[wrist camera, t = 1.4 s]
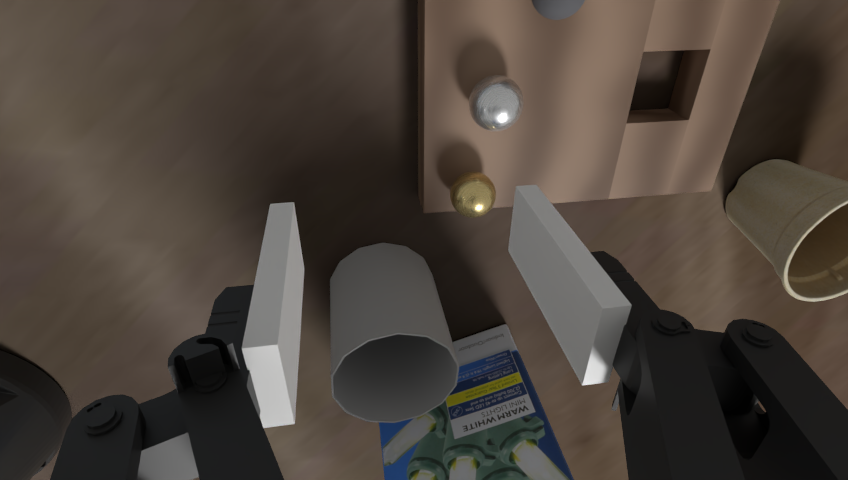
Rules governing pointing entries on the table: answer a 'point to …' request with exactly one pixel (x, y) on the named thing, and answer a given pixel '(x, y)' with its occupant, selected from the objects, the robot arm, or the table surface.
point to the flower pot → (796, 225)
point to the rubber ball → (557, 8)
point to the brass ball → (472, 194)
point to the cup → (388, 336)
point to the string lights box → (479, 423)
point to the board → (583, 95)
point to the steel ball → (496, 103)
